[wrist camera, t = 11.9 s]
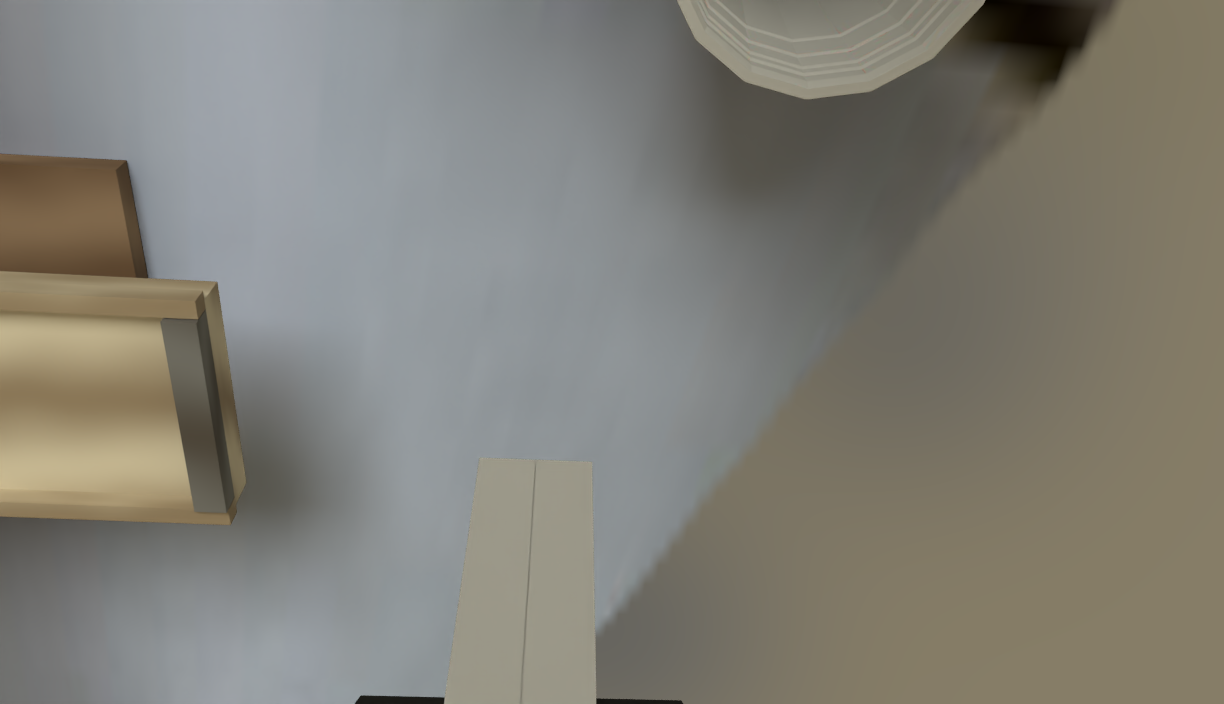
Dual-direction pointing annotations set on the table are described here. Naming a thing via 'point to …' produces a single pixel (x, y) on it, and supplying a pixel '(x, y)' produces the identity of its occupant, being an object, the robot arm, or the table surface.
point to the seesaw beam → (116, 400)
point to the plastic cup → (825, 40)
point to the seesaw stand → (68, 217)
